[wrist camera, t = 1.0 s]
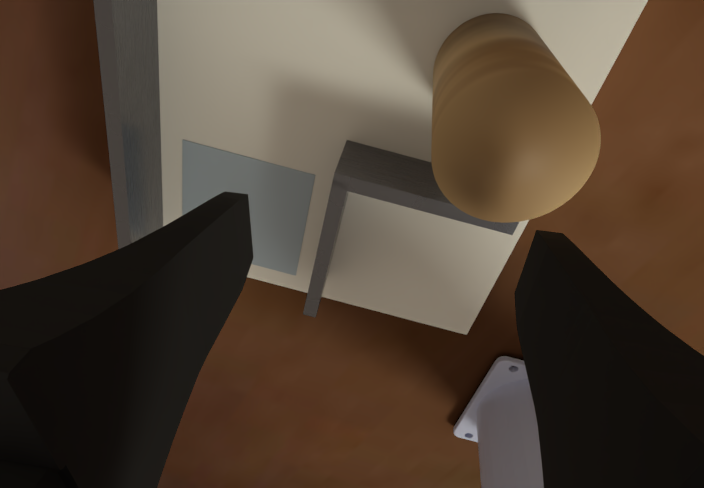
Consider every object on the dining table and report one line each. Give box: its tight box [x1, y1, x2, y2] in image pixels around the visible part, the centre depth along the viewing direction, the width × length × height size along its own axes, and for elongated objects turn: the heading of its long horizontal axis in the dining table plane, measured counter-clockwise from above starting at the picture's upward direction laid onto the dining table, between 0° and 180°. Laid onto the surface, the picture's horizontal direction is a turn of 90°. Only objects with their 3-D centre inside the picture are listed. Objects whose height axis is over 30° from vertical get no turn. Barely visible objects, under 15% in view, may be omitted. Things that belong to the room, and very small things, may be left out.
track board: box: [157, 0, 648, 335], centre depth 20 cm, size 18×18×1 cm
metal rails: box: [93, 0, 519, 317], centre depth 18 cm, size 16×16×3 cm
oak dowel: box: [431, 13, 601, 223], centre depth 15 cm, size 4×4×7 cm
